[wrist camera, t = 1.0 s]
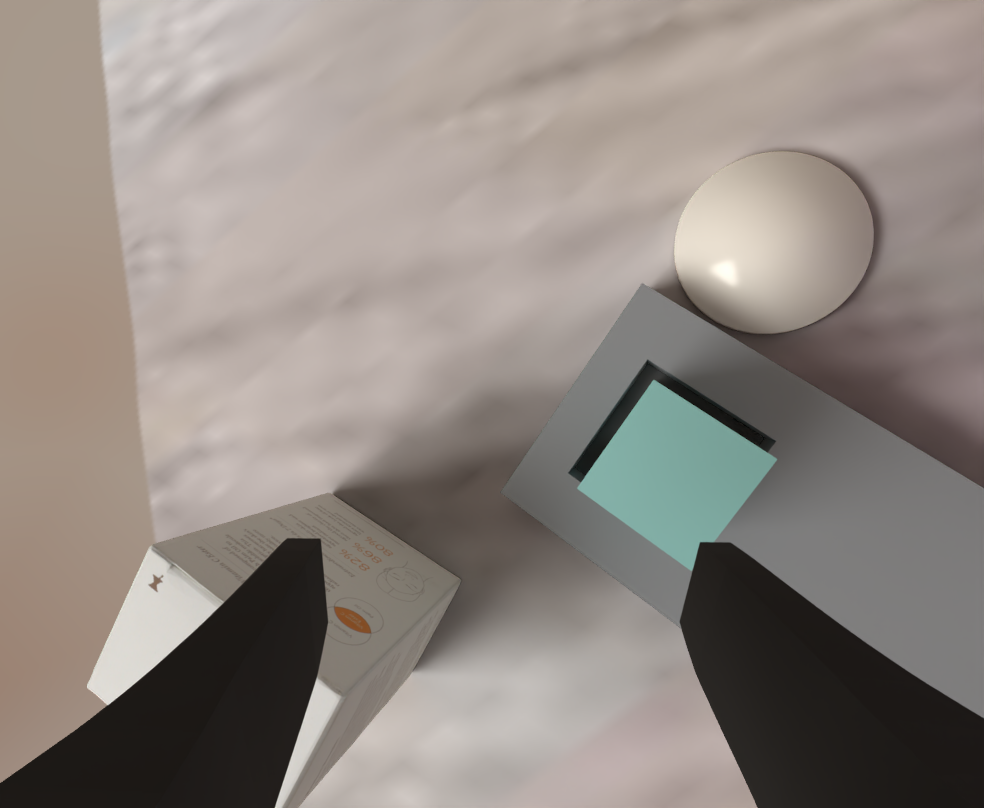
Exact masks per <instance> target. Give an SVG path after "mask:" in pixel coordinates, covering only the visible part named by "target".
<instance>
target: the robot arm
mask: <svg viewBox="0 0 984 808" xmlns="http://www.w3.org/2000/svg"><path fill="white" fill-rule="evenodd" d="M679 622H680V625H681V629H682V632H683V635H684V639H685V642H686V645H687V648H688V651H689V654H690V657H691V660H692V663H693V666H694V669H695V672H696V675H697V677H698V679H699V682H700V684H701V686H702V688H703V690H704V693H705V695H706V697H707V699H708V701H709V704H710V706H711V708H712V710H713V712H714V714H715V717H716V719H717V721H718V723H719V725H720V727H721V729H722V732H723V734H724V736H725V738H726V740H727V742H728V744H729V747H730V749H731V751H732V753H733V755H734V757H735V759H736V762H737V764H738V766H739V768H740V770H741V772H742V774H743V777H744V779H745V781H746V783H747V785H748V787H749V789H750V792H751V794H752V796H753V798H754V800H755V803H756V805H757V807H758V808H984V718H983V717H981V716H979V715H978V714H976V713H974V712H973V711H971V710H969V709H968V708H966V707H965V706H963V705H961V704H960V703H958V702H956V701H955V700H953V699H951V698H950V697H948V696H947V695H945V694H943V693H942V692H940V691H938V690H937V689H935V688H933V687H932V686H930V685H929V684H927V683H925V682H924V681H922V680H921V679H919V678H918V677H916V676H915V675H913V674H912V673H910V672H908V671H907V670H905V669H904V668H902V667H901V666H899V665H898V664H896V663H895V662H894V661H892V660H891V659H889V658H888V657H886V656H885V655H883V654H882V653H880V652H879V651H878V650H876V649H875V648H873V647H872V646H870V645H869V644H867V643H866V642H864V641H863V640H862V639H860V638H859V637H857V636H856V635H855V634H853V633H852V632H850V631H849V630H848V629H846V628H845V627H843V626H842V625H841V624H839V623H838V622H837V621H835V620H834V619H833V618H831V617H830V616H828V615H827V614H826V613H824V612H823V611H822V610H820V609H819V608H818V607H816V606H815V605H814V604H812V603H811V602H810V601H808V600H807V599H806V598H804V597H803V596H802V595H801V594H799V593H798V592H797V591H795V590H794V589H793V588H791V587H790V586H789V585H787V584H786V583H785V582H784V581H782V580H781V579H780V578H778V577H777V576H776V575H774V574H773V573H772V572H770V571H769V570H768V569H767V568H765V567H764V566H763V565H761V564H760V563H759V562H757V561H756V560H755V559H753V558H752V557H751V556H749V555H748V554H746V553H745V552H744V551H742V550H741V549H739V548H738V547H737V546H735V545H734V544H732V543H731V542H700V544H699V548H698V551H697V555H696V559H695V563H694V567H693V571H692V575H691V579H690V582H689V586H688V590H687V594H686V598H685V602H684V606H683V610H682V614H681V617H680V621H679ZM327 626H328V613H327V602H326V591H325V580H324V568H323V557H322V546H321V538H287V539H286V540H285V541H283V542H282V543H281V544H280V545H279V546H278V547H277V548H276V549H275V550H274V551H273V552H272V553H271V554H270V556H269V557H268V558H267V559H266V560H265V561H264V562H263V563H262V564H261V565H260V566H259V567H258V568H257V569H256V570H255V571H254V572H253V573H252V574H251V575H250V576H249V577H248V578H247V580H246V581H245V582H244V583H243V584H242V585H241V586H240V587H239V588H238V589H237V590H236V591H235V592H234V593H233V594H232V595H231V596H230V597H229V598H228V599H227V600H226V601H225V602H224V603H223V604H222V605H221V606H220V607H219V608H218V609H216V610H215V611H214V612H213V613H212V614H211V615H210V616H209V617H208V618H207V619H206V620H205V621H204V622H203V623H202V624H201V625H200V626H199V627H198V628H197V629H196V630H195V631H194V632H193V633H191V634H190V635H189V636H188V637H187V638H186V639H185V640H184V641H183V642H181V643H180V644H179V645H178V646H177V647H176V648H175V649H174V650H173V651H171V652H170V653H169V654H168V655H167V656H166V657H165V658H164V659H163V660H161V661H160V662H159V663H158V664H157V665H156V666H155V667H154V668H152V669H151V670H150V671H149V672H148V673H147V674H145V675H144V676H143V677H142V678H141V679H139V680H138V681H137V682H136V683H135V684H134V685H132V686H131V687H130V688H129V689H127V690H126V691H125V692H124V693H123V694H121V695H120V696H119V697H118V698H116V699H115V700H114V701H113V702H111V703H110V704H109V705H107V706H106V707H105V708H104V709H102V710H101V711H100V712H99V713H97V714H96V715H95V716H94V717H92V718H91V719H90V720H88V721H87V722H86V723H84V724H83V725H82V726H80V727H79V728H78V729H77V730H75V731H74V732H72V733H71V734H70V735H68V736H67V737H65V738H64V739H62V740H61V741H59V742H58V743H57V744H55V745H54V746H52V747H51V748H50V749H48V750H47V751H45V752H44V753H42V754H41V755H40V756H38V757H37V758H35V759H34V760H33V761H31V762H30V763H28V764H27V765H25V766H24V767H23V768H21V769H20V770H18V771H17V772H15V773H14V774H13V775H11V776H10V777H8V778H7V779H6V780H4V781H3V782H1V783H0V808H275V806H276V803H277V799H278V796H279V793H280V790H281V787H282V784H283V781H284V778H285V775H286V772H287V769H288V766H289V763H290V760H291V757H292V754H293V750H294V747H295V744H296V741H297V738H298V735H299V732H300V729H301V726H302V723H303V720H304V717H305V714H306V710H307V707H308V704H309V701H310V698H311V695H312V692H313V689H314V685H315V682H316V679H317V675H318V671H319V666H320V661H321V657H322V652H323V647H324V642H325V637H326V632H327Z"/></svg>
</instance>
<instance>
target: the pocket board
mask: <svg viewBox="0 0 984 808" xmlns="http://www.w3.org/2000/svg"><path fill="white" fill-rule="evenodd" d="M647 363H649V364H650V365H652V366H653V367H655V368H657V369H658V370H660V371H661V372H663V373H664V374H666V375H668V376H669V377H671V378H672V379H674V380H675V381H677V382H679V383H680V384H682V385H683V386H685V387H686V388H688V389H690V390H691V391H693V392H694V393H696V394H697V395H699V396H701V397H702V398H704V399H705V400H707V401H708V402H710V403H712V404H713V405H715V406H716V407H718V408H719V409H721V410H722V411H724V412H726V413H727V414H729V415H730V416H732V417H733V418H735V419H737V420H738V421H740V422H741V423H743V424H744V425H746V426H748V427H749V428H751V429H752V430H754V431H755V432H757V433H759V434H760V435H762V436H763V437H765V438H764V440H763V441H762V442H761V444H760V445H759V446H758V447H759V448H761V449H762V450H764V451H766V452H767V453H769V454H770V455H772V456H773V457H775V458H776V459H777V461H776V462H775V463H774V465H773V466H772V467H771V469H770V470H769V471H768V472H767V474H766V475H765V476H764V478H763V479H762V480H761V482H760V483H759V484H758V485H757V487H756V488H755V489H754V491H753V492H752V493H751V495H750V496H749V497H748V498H747V500H746V501H745V502H744V504H743V505H742V506H741V508H740V509H739V510H738V511H737V513H736V514H735V515H734V517H733V518H732V519H731V521H730V522H729V523H728V524H727V526H726V527H725V528H724V530H723V531H722V532H721V534H720V535H719V536H718V537H717V539H716V540H715V541H714V542H731V543H732V544H734V545H735V546H737V547H738V548H739V549H741V550H742V551H744V552H745V553H746V554H748V555H749V556H751V557H752V558H753V559H755V560H756V561H757V562H759V563H760V564H761V565H763V566H764V567H765V568H767V569H768V570H769V571H770V572H772V573H773V574H774V575H776V576H777V577H778V578H780V579H781V580H782V581H784V582H785V583H786V584H787V585H789V586H790V587H791V588H793V589H794V590H795V591H797V592H798V593H799V594H801V595H802V596H803V597H804V598H806V599H807V600H808V601H810V602H811V603H812V604H814V605H815V606H816V607H818V608H819V609H820V610H822V611H823V612H824V613H826V614H827V615H828V616H830V617H831V618H833V619H834V620H835V621H837V622H838V623H839V624H841V625H842V626H843V627H845V628H846V629H848V630H849V631H850V632H852V633H853V634H855V635H856V636H857V637H859V638H860V639H862V640H863V641H864V642H866V643H867V644H869V645H870V646H872V647H873V648H875V649H876V650H878V651H879V652H880V653H882V654H883V655H885V656H886V657H888V658H889V659H891V660H892V661H894V662H895V663H896V664H898V665H899V666H901V667H902V668H904V669H905V670H907V671H908V672H910V673H912V674H913V675H915V676H916V677H918V678H919V679H921V680H922V681H924V682H925V683H927V684H929V685H930V686H932V687H933V688H935V689H937V690H938V691H940V692H942V693H943V694H945V695H947V696H948V697H950V698H951V699H953V700H955V701H956V702H958V703H960V704H961V705H963V706H965V707H966V708H968V709H969V710H971V711H973V712H974V713H976V714H978V715H979V716H981V717H983V718H984V488H983V487H981V486H979V485H978V484H976V483H974V482H973V481H971V480H969V479H968V478H966V477H964V476H963V475H961V474H959V473H958V472H956V471H954V470H953V469H951V468H949V467H948V466H946V465H944V464H943V463H941V462H939V461H938V460H936V459H934V458H933V457H931V456H929V455H928V454H926V453H924V452H923V451H921V450H919V449H918V448H916V447H914V446H913V445H911V444H909V443H908V442H906V441H904V440H903V439H901V438H899V437H898V436H896V435H894V434H893V433H891V432H889V431H888V430H886V429H884V428H883V427H881V426H879V425H878V424H876V423H874V422H873V421H871V420H869V419H868V418H866V417H864V416H863V415H861V414H859V413H858V412H856V411H854V410H853V409H851V408H849V407H848V406H846V405H844V404H843V403H841V402H839V401H838V400H836V399H834V398H833V397H831V396H829V395H828V394H826V393H824V392H823V391H821V390H820V389H818V388H816V387H815V386H813V385H811V384H810V383H808V382H806V381H805V380H803V379H801V378H800V377H798V376H796V375H795V374H793V373H791V372H790V371H788V370H786V369H785V368H783V367H781V366H780V365H778V364H776V363H775V362H773V361H771V360H770V359H768V358H766V357H765V356H763V355H761V354H760V353H758V352H756V351H755V350H753V349H751V348H750V347H748V346H746V345H745V344H743V343H741V342H740V341H738V340H736V339H735V338H733V337H731V336H730V335H728V334H726V333H725V332H723V331H721V330H720V329H718V328H716V327H715V326H713V325H711V324H710V323H708V322H706V321H705V320H703V319H701V318H700V317H698V316H696V315H695V314H693V313H691V312H690V311H688V310H686V309H685V308H683V307H681V306H680V305H678V304H676V303H675V302H673V301H671V300H670V299H668V298H666V297H665V296H663V295H661V294H660V293H658V292H656V291H655V290H653V289H651V288H650V287H648V286H646V285H645V284H643V283H642V284H641V286H640V287H639V289H638V290H637V292H636V293H635V295H634V296H633V298H632V299H631V301H630V302H629V303H628V305H627V306H626V308H625V309H624V311H623V312H622V314H621V315H620V317H619V318H618V320H617V321H616V323H615V324H614V326H613V327H612V328H611V330H610V331H609V333H608V334H607V336H606V337H605V339H604V340H603V342H602V343H601V345H600V346H599V348H598V349H597V351H596V352H595V354H594V355H593V356H592V358H591V359H590V361H589V362H588V364H587V365H586V367H585V368H584V370H583V371H582V373H581V374H580V376H579V377H578V379H577V380H576V381H575V383H574V384H573V386H572V387H571V389H570V390H569V392H568V393H567V395H566V396H565V398H564V399H563V401H562V402H561V404H560V405H559V407H558V408H557V409H556V411H555V412H554V414H553V415H552V417H551V418H550V420H549V421H548V423H547V424H546V426H545V427H544V429H543V430H542V432H541V433H540V434H539V436H538V437H537V439H536V440H535V442H534V443H533V445H532V446H531V448H530V449H529V451H528V452H527V454H526V455H525V457H524V458H523V460H522V461H521V462H520V464H519V465H518V467H517V468H516V470H515V471H514V473H513V474H512V476H511V477H510V479H509V480H508V482H507V483H506V485H505V486H504V487H503V489H502V490H501V492H500V493H502V494H503V495H504V496H506V497H507V498H508V499H510V500H511V501H512V502H514V503H515V504H516V505H518V506H519V507H520V508H522V509H523V510H524V511H526V512H527V513H528V514H529V515H531V516H532V517H533V518H535V519H536V520H537V521H539V522H540V523H541V524H543V525H544V526H545V527H547V528H548V529H549V530H551V531H552V532H553V533H555V534H556V535H557V536H559V537H560V538H561V539H563V540H564V541H565V542H567V543H568V544H569V545H571V546H572V547H573V548H575V549H576V550H577V551H579V552H580V553H581V554H583V555H584V556H585V557H587V558H588V559H589V560H591V561H592V562H593V563H595V564H596V565H597V566H599V567H600V568H601V569H603V570H604V571H605V572H607V573H608V574H609V575H611V576H612V577H613V578H615V579H616V580H617V581H619V582H620V583H621V584H623V585H624V586H625V587H627V588H628V589H629V590H631V591H632V592H633V593H635V594H636V595H637V596H639V597H640V598H641V599H643V600H644V601H645V602H647V603H648V604H649V605H651V606H652V607H653V608H655V609H656V610H657V611H659V612H660V613H661V614H663V615H664V616H665V617H667V618H668V619H669V620H671V621H672V622H673V623H674V624H676V625H677V626H678V627H680V628H681V625H680V622H679V621H680V617H681V614H682V610H683V606H684V602H685V598H686V594H687V590H688V586H689V582H690V579H691V575H692V571H693V570H692V571H690V570H689V569H688V568H686V567H685V566H683V565H682V564H681V563H679V562H678V561H677V560H675V559H674V558H672V557H671V556H670V555H668V554H667V553H665V552H664V551H663V550H661V549H660V548H658V547H657V546H656V545H654V544H653V543H652V542H650V541H649V540H647V539H646V538H645V537H643V536H642V535H640V534H639V533H638V532H636V531H635V530H634V529H632V528H631V527H629V526H628V525H627V524H625V523H624V522H622V521H621V520H620V519H618V518H617V517H616V516H614V515H613V514H611V513H610V512H609V511H607V510H606V509H604V508H603V507H602V506H600V505H599V504H598V503H596V502H595V501H593V500H592V499H591V498H589V497H588V496H586V495H585V494H584V493H582V492H581V491H580V490H578V489H577V488H578V486H579V485H580V483H581V482H582V480H583V479H584V478H585V476H586V475H584V474H583V473H581V472H580V471H579V470H577V469H576V468H574V467H575V466H576V464H577V463H578V462H579V460H580V459H581V457H582V456H583V454H584V453H585V452H586V450H587V449H588V447H589V446H590V444H591V443H592V442H593V440H594V439H595V437H596V436H597V434H598V433H599V432H600V430H601V429H602V427H603V426H604V424H605V423H606V422H607V420H608V419H609V417H610V416H611V414H612V413H613V412H614V410H615V409H616V407H617V406H618V404H619V403H620V402H621V400H622V399H623V397H624V396H625V394H626V393H627V392H628V390H629V389H630V387H631V386H632V384H633V383H634V382H635V380H636V379H637V377H638V376H639V374H640V373H641V372H642V370H643V369H644V367H645V366H646V364H647Z"/></svg>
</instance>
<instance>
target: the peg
mask: <svg viewBox="0 0 984 808" xmlns="http://www.w3.org/2000/svg"><path fill="white" fill-rule="evenodd" d="M776 461H777V459H776V458H775V457H773V456H772V455H770V454H769V453H767V452H766V451H764V450H762V449H761V448H759V447H758V446H756V445H755V444H753V443H752V442H750V441H748V440H747V439H745V438H744V437H742V436H741V435H739V434H738V433H736V432H734V431H733V430H731V429H730V428H728V427H727V426H725V425H724V424H722V423H720V422H719V421H717V420H716V419H714V418H713V417H711V416H710V415H708V414H706V413H705V412H703V411H702V410H700V409H699V408H697V407H696V406H694V405H692V404H691V403H689V402H688V401H686V400H685V399H683V398H682V397H680V396H679V395H677V394H675V393H674V392H672V391H671V390H669V389H668V388H666V387H665V386H663V385H661V384H660V383H658V382H657V381H655V380H653V381H652V383H651V384H650V386H649V387H648V388H647V390H646V391H645V393H644V394H643V395H642V397H641V398H640V400H639V401H638V403H637V404H636V405H635V407H634V408H633V410H632V411H631V412H630V414H629V415H628V417H627V418H626V420H625V421H624V422H623V424H622V425H621V427H620V428H619V429H618V431H617V432H616V434H615V435H614V437H613V438H612V439H611V441H610V442H609V444H608V445H607V446H606V448H605V449H604V451H603V452H602V454H601V455H600V456H599V458H598V459H597V461H596V462H595V463H594V465H593V466H592V468H591V469H590V471H589V472H588V473H587V475H586V476H585V478H584V479H583V480H582V482H581V483H580V485H579V486H578V488H577V489H578V490H580V491H581V492H582V493H584V494H585V495H586V496H588V497H589V498H591V499H592V500H593V501H595V502H596V503H598V504H599V505H600V506H602V507H603V508H604V509H606V510H607V511H609V512H610V513H611V514H613V515H614V516H616V517H617V518H618V519H620V520H621V521H622V522H624V523H625V524H627V525H628V526H629V527H631V528H632V529H634V530H635V531H636V532H638V533H639V534H640V535H642V536H643V537H645V538H646V539H647V540H649V541H650V542H652V543H653V544H654V545H656V546H657V547H658V548H660V549H661V550H663V551H664V552H665V553H667V554H668V555H670V556H671V557H672V558H674V559H675V560H677V561H678V562H679V563H681V564H682V565H683V566H685V567H686V568H688V569H689V570H690V571H692V570H693V567H694V563H695V559H696V555H697V551H698V548H699V544H700V542H714V541H715V540H716V539H717V537H718V536H719V535H720V534H721V532H722V531H723V530H724V528H725V527H726V526H727V524H728V523H729V522H730V521H731V519H732V518H733V517H734V515H735V514H736V513H737V511H738V510H739V509H740V508H741V506H742V505H743V504H744V502H745V501H746V500H747V498H748V497H749V496H750V495H751V493H752V492H753V491H754V489H755V488H756V487H757V485H758V484H759V483H760V482H761V480H762V479H763V478H764V476H765V475H766V474H767V472H768V471H769V470H770V469H771V467H772V466H773V465H774V463H775V462H776Z"/></svg>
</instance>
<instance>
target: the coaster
mask: <svg viewBox="0 0 984 808" xmlns="http://www.w3.org/2000/svg"><path fill="white" fill-rule="evenodd" d="M873 243H874V227H873V220H872V215H871V212H870V209H869V205H868V203H867V201H866V199H865V197H864V195H863V194H862V192H861V191H860V189H859V188H858V186H857V185H856V184H855V183H854V182H853V180H852V179H851V178H850V177H849V176H848V175H847V174H845V173H844V172H843V171H842V170H840V169H839V168H838V167H836V166H834V165H833V164H831V163H829V162H827V161H825V160H823V159H820V158H818V157H815V156H812V155H808V154H804V153H798V152H791V151H775V152H766V153H761V154H756V155H752V156H749V157H746V158H743V159H740V160H738V161H736V162H734V163H732V164H730V165H727V166H726V167H724V168H723V169H721V170H720V171H718V172H716V173H715V174H714V175H713V176H711V177H710V178H709V179H708V180H707V181H706V182H705V183H704V184H703V185H702V186H701V187H700V188H699V189H698V190H697V191H696V193H695V194H694V195H693V196H692V198H691V199H690V201H689V202H688V204H687V206H686V207H685V209H684V211H683V214H682V216H681V218H680V221H679V224H678V228H677V231H676V237H675V244H674V260H675V267H676V271H677V275H678V278H679V281H680V283H681V285H682V288H683V290H684V291H685V293H686V294H687V296H688V298H689V299H690V300H691V301H692V303H693V304H694V305H695V306H696V307H697V308H698V309H699V310H700V311H701V312H702V313H703V314H705V315H706V316H707V317H709V318H710V319H712V320H713V321H715V322H717V323H719V324H721V325H723V326H725V327H728V328H730V329H733V330H736V331H741V332H745V333H752V334H777V333H784V332H788V331H792V330H796V329H799V328H802V327H804V326H807V325H809V324H812V323H814V322H816V321H818V320H819V319H821V318H823V317H825V316H827V315H828V314H829V313H831V312H832V311H834V310H835V309H836V308H838V307H839V306H840V305H841V304H842V303H843V302H844V301H845V300H846V299H847V298H848V297H849V296H850V295H851V294H852V292H853V291H854V290H855V289H856V287H857V286H858V284H859V283H860V281H861V280H862V278H863V276H864V274H865V272H866V270H867V267H868V265H869V261H870V258H871V255H872V250H873Z"/></svg>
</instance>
